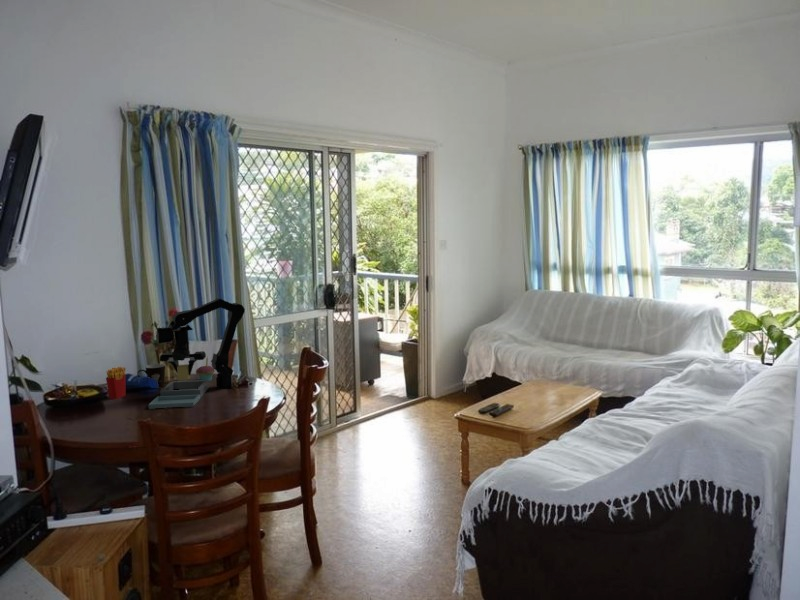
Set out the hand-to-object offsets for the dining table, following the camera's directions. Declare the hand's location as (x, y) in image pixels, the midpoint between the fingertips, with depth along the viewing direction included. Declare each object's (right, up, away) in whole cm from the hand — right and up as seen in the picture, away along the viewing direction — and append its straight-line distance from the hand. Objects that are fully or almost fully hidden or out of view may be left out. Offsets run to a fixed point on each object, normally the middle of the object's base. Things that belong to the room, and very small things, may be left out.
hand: (184, 375), depth 281 cm
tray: (+2, -10, -16) cm, 19 cm away
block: (0, -2, 0) cm, 2 cm away
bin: (0, -8, +1) cm, 8 cm away
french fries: (-29, -9, -2) cm, 30 cm away
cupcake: (+3, -5, +23) cm, 24 cm away
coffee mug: (-19, -7, +14) cm, 24 cm away
